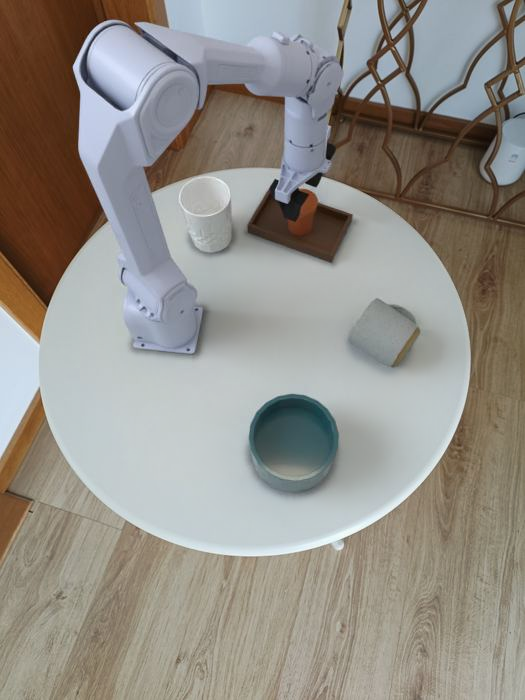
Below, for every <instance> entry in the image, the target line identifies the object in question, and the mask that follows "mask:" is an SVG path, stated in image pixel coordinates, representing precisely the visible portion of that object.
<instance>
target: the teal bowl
mask: <svg viewBox="0 0 525 700" xmlns="http://www.w3.org/2000/svg"><path fill="white" fill-rule="evenodd" d="M339 437H340V434H339V430H338V426H337V422H336V419H335V418H334V416H333V415H332V413H331V412H330V410H329V409H328V408H327V407H326V406H325V405H324V404H323V403H321V402H320V401H319V400H317V399H315V398H313V397H310V396H308V395H305V394H298V393H287V394H281V395H277V396H276V397H274V398H272V399H269V400H267V401H266V402H265V403H264V404H263V405H261V407H260V408H259V409H258V410H256V412H255V414H254V416H253V418H252V421H251V422H250V425H249V433H248V442H249V448H250V453H251V459H252V464H253V466H254V469H255V470H256V473H257V474H258V475H259V477H260V478H261V479H262V480H263V481H264V482H265V483H266V484H267V485H269V486H270V487H272V488H273V489H275V490H278V491H281V492H284V493H301V492H306V491H309V490H310V489H312V488H314V487H316V486H317V485H319V484H320V483H321V482H322V481H323V480H324V479H325V477H326V476H327V474H328V473H329V471H330V470H331V466H332V464H333V461H334V459H335V458H336V454H337V451H338V449H339Z"/></svg>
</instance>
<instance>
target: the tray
mask: <svg viewBox="0 0 525 700" xmlns="http://www.w3.org/2000/svg"><path fill="white" fill-rule="evenodd" d="M353 217H354V214H353V213H351V212H347V211H344V210H341V209H338V208H335V207H332V206H330V205H326V204H324V203H321V202H318V207H317V210H316V211H315V213H314V223H313V229H312V230H311V232H310V233H308V234H306V235H303V236H297V235H294V234H292V233H291V232H290V231H289V230H288V228H287V219H286V218H284V215H283V213H282V210H281V208H280V205H279V204H278V202H277V201H276V200H275V199H274V198H273V197H272V196H271V195H270V186H269V187H268V189H267V191H266V193H265V194H264V196H263V197H262V199H261V200H260V203H259V204H258V205H257V208H256V209H255V211H254V213H253V215H252V216H251V217H250V219H249V221H248V223H247V225H246V230H247V233H248V234H250V235H252V236H256V237H257V238H258V237H259V238H262V239H264V240H267V241H268V242H272V243H275V244H277V245H280V246H284V247H286V248H289V249H291V250H295V251H297V252H300V253H302V254H305V255H308V256H310V257H314V258H316V259H319V260H323V261H325V262H327V263H330V264H332V263H333V261H334V259H335V257H336V255H337V253H338V251H339V250H340V247H341V245H342V243H343V240H344V238H345V237H346V236H347V235H346V234H347V232H348V231H349V229H350V226H351V224H352V222H353Z"/></svg>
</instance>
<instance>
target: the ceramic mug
mask: <svg viewBox="0 0 525 700" xmlns="http://www.w3.org/2000/svg"><path fill="white" fill-rule="evenodd" d="M417 324H418V321H417V320H416V317H415V316H414V315H413V314H412V313H411V311H409V310H408V309H407V308H405V307H403V306H401V305H399V304H395V303H389V304H388V303H386V302H385V301H383V300H382V299H380V298H378V297H376V298H374V299H373V300H372V301H371V302H370V303H369V304H368V305H367V306H366V308H365V310H363V312H362V314H361V315H360V316H359V318H358V319H357V321H356V322H355V324H354V326H353V327H352V330H351V331H350V334H349V335H348V338H347V341H348V342H349V344H351V345H353V346H354V347H356V348H357V349H359V350H361V351H363V353H366V354H368V355H369V356H371V357H372V358H374V359H376V360H377V361H378V362H380V363H382V364H383V365H385V366H388V367H390V368H397V367H398V366H399V365H400V363H401V362H402V361H403V359H404V358H405V357H406V355H407V354H408V353H409V351H410V350H411V348H412V347H413V345H414V344H415V342H416V341H417V339H418V338H419V336H420V335H421V329H420V327H419V326H418V325H417Z"/></svg>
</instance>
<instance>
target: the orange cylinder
mask: <svg viewBox="0 0 525 700" xmlns="http://www.w3.org/2000/svg"><path fill="white" fill-rule="evenodd" d="M299 190H300V191H302V192H305V193H308V194H309V196H308V198H307V199H306V201H305V202H304V204H303V205H302V207H301V211H300V215H299V217H298V219H297V221H296V222H294V221H291V220H288V219H287V228H288V230H289V231H290V232H291V233H292V234H294V235H297V236H303V235H306V234H308V233H310V232H311V230H312V229H313V223H314V213H315V211H316V210H317V207H318V203H319V199H318V196H317V194H316V193H315V192H313V191H312V190H311V189H307V188H299Z"/></svg>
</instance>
